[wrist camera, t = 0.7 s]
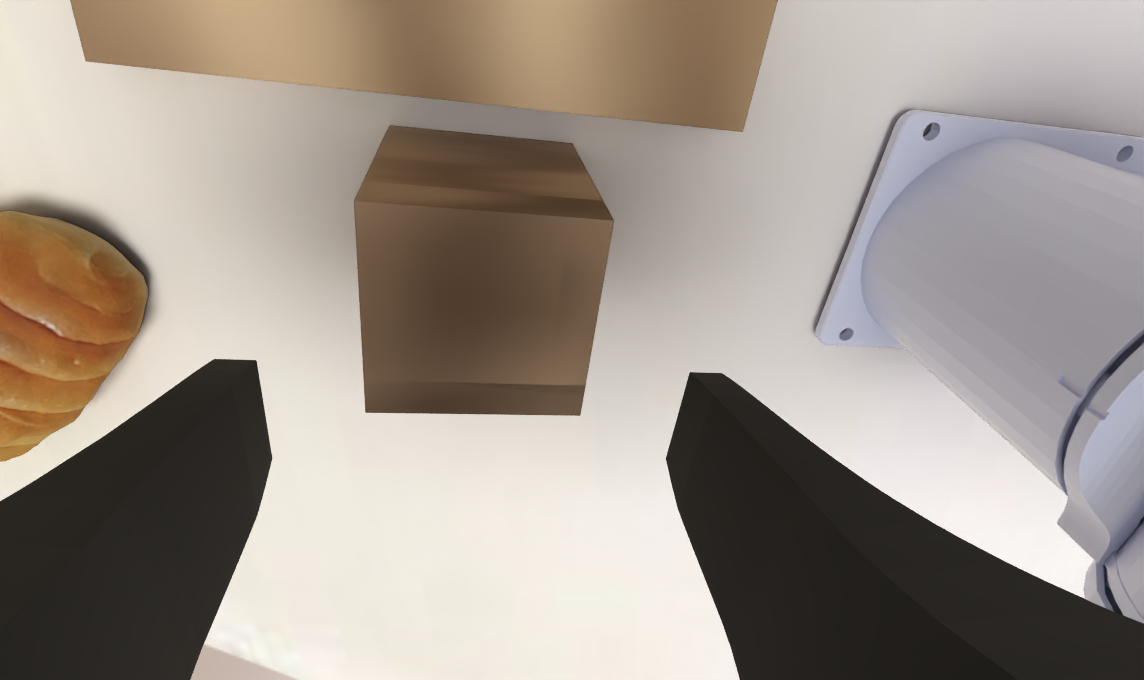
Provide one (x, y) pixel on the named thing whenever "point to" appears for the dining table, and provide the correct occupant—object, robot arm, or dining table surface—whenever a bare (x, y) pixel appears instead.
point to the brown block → (478, 274)
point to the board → (462, 50)
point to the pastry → (58, 323)
